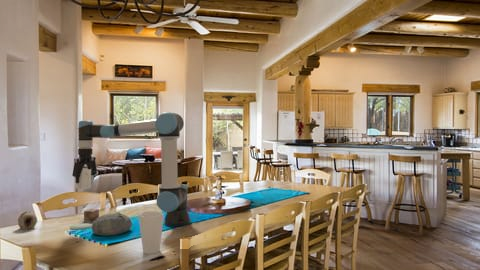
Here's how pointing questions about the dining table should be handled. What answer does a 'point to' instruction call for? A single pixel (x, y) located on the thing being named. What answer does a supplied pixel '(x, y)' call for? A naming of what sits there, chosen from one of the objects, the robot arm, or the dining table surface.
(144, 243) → the cup
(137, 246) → the dining table surface
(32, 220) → the grey rounded ring
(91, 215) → the walnut block
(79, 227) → the coaster
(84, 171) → the mug
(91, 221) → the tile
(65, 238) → the dining table surface
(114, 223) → the decorative stone
